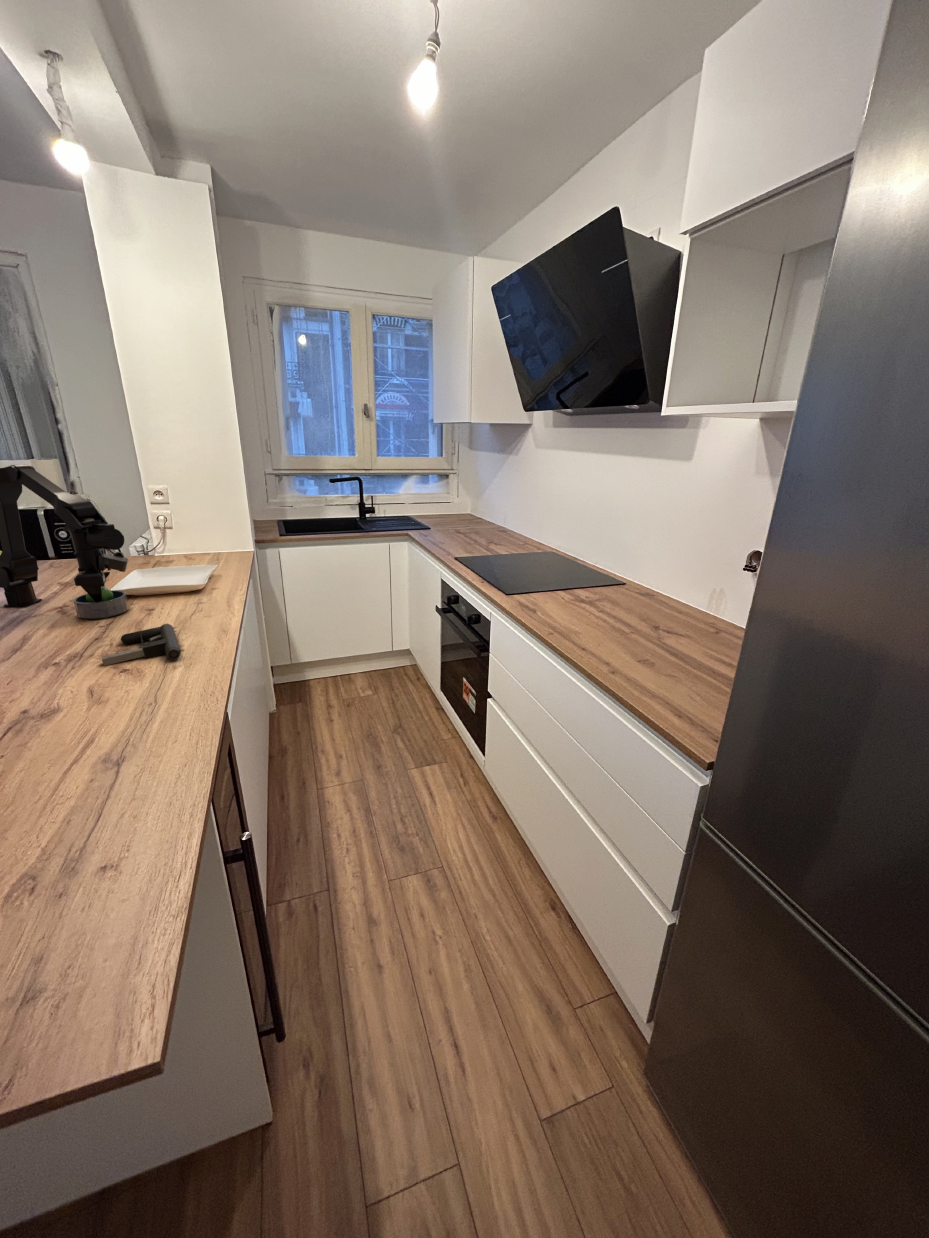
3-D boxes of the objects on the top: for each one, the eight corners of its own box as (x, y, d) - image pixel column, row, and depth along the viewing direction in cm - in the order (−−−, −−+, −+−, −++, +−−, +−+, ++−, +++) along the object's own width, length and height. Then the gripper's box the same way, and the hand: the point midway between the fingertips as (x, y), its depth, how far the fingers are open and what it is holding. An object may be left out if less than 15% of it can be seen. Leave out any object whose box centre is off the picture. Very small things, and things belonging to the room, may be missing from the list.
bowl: (96, 606, 146) (92, 590, 144) (138, 606, 146) (134, 590, 144) (67, 620, 134) (62, 603, 132) (112, 620, 135) (107, 603, 133)
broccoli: (88, 615, 136) (81, 589, 134) (91, 610, 141) (84, 584, 138) (116, 612, 139) (109, 586, 137) (117, 607, 143) (111, 582, 141)
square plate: (219, 573, 183) (217, 563, 181) (207, 594, 158) (205, 582, 157) (137, 578, 175) (134, 567, 173) (110, 600, 150) (107, 588, 149)
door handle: (100, 665, 103) (184, 645, 111) (101, 635, 118) (175, 620, 127) (105, 679, 104) (188, 658, 112) (105, 648, 120) (179, 631, 128)
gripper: (118, 551, 129) (131, 606, 135) (125, 539, 145) (136, 589, 150) (66, 555, 124) (82, 612, 130) (79, 542, 140) (92, 593, 145)
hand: (101, 601), depth 139 cm, fingers closed on broccoli, 5 cm apart
